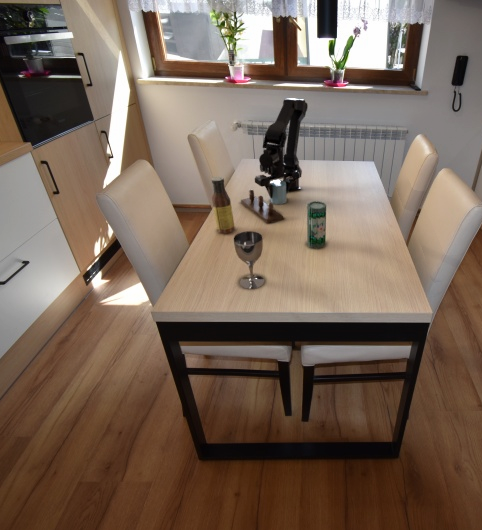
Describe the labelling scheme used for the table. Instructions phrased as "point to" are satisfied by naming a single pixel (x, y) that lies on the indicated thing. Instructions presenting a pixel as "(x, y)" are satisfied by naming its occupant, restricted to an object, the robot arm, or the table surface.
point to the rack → (261, 208)
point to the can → (316, 224)
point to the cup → (279, 192)
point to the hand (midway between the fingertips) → (278, 196)
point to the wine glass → (249, 255)
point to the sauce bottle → (222, 206)
